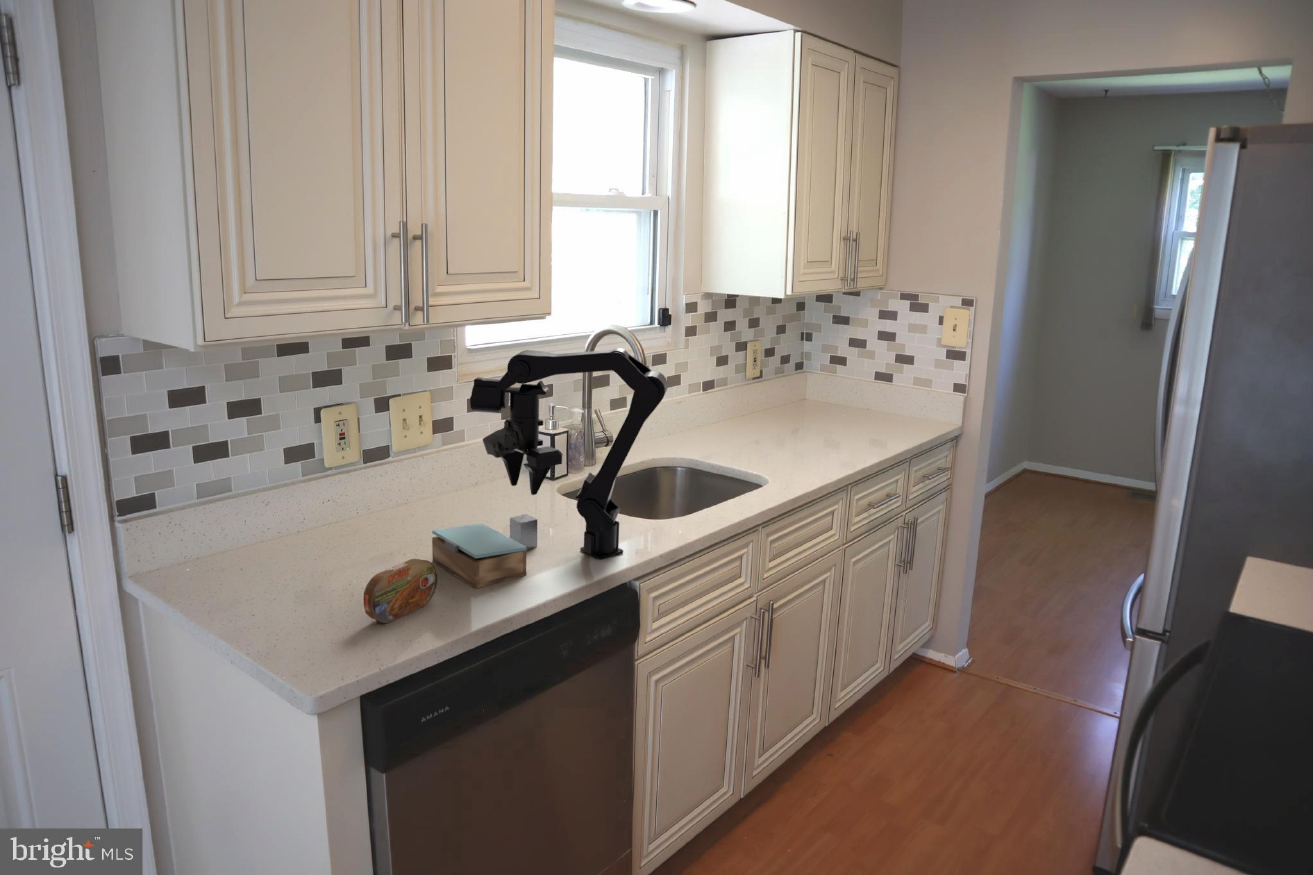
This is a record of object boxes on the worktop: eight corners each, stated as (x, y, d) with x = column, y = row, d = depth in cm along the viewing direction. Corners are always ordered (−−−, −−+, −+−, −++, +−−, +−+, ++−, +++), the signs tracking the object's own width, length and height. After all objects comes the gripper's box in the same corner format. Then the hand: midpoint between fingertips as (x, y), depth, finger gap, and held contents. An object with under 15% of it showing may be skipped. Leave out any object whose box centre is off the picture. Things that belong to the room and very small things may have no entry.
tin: (374, 630, 150) (372, 582, 148) (360, 625, 151) (358, 577, 149) (439, 599, 162) (438, 554, 160) (426, 595, 164) (425, 550, 162)
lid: (481, 530, 185) (481, 523, 184) (526, 554, 173) (526, 547, 173) (428, 537, 177) (429, 530, 177) (471, 563, 165) (472, 555, 165)
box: (481, 549, 186) (481, 526, 185) (526, 574, 174) (526, 550, 173) (432, 561, 179) (432, 537, 177) (475, 588, 167) (475, 562, 166)
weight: (526, 541, 192) (526, 513, 190) (537, 546, 189) (537, 519, 187) (509, 545, 189) (509, 517, 188) (520, 551, 186) (520, 523, 185)
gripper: (464, 410, 184) (464, 485, 187) (516, 429, 170) (515, 509, 174) (511, 404, 191) (511, 476, 195) (564, 422, 177) (563, 499, 181)
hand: (523, 490), depth 186 cm, fingers open, 7 cm apart
